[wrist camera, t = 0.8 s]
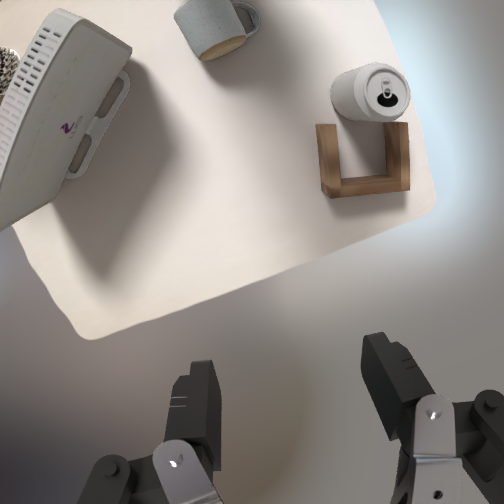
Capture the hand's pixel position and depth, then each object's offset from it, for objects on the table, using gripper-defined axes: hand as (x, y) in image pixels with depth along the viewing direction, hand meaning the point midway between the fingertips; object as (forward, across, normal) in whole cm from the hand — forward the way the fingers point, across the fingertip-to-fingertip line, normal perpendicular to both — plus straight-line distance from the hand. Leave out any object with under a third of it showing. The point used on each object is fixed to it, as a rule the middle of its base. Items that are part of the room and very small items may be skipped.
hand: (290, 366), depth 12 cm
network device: (+38, +23, -14) cm, 46 cm away
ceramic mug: (+38, +1, -23) cm, 44 cm away
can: (+38, -17, -11) cm, 43 cm away
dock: (+38, -17, -2) cm, 41 cm away
